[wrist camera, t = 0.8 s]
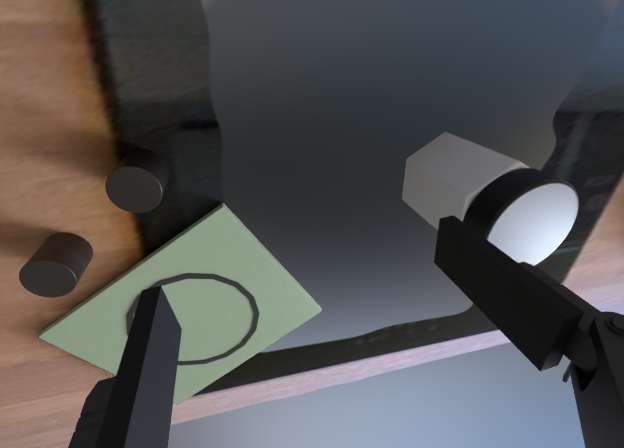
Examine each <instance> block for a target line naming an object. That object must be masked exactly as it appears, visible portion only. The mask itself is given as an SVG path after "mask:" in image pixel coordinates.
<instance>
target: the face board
mask: <svg viewBox="0 0 624 448" xmlns="http://www.w3.org/2000/svg"><path fill="white" fill-rule="evenodd" d="M157 286H161V287H162V289H163V291H164V293H165V295H166V297H167V299H168V301H169V303H170V305H171V308H172V310H173V312H174V314H175V316H176V318H177V320H178V322H179V324H180V326H181V328H182V333H181V341H180V349H179V357H178V365H177V373H176V382H175V390H174V398H173V403H174V404H176V405H179V404H180V403H182V402H183V401H185V400H186V399H188V398H189V397H191V396H192V395H194V394H195V393H197V392H199V391H200V390H202V389H203V388H205V387H206V386H208V385H209V384H211V383H212V382H214V381H215V380H217V379H218V378H220V377H222V376H223V375H225V374H226V373H228V372H229V371H231V370H232V369H234V368H235V367H237V366H238V365H240V364H241V363H243V362H245V361H246V360H248V359H249V358H251V357H252V356H254V355H255V354H257V353H258V352H260V351H261V350H263V349H264V348H266V347H267V346H269V345H271V344H272V343H274V342H275V341H277V340H278V339H280V338H281V337H283V336H284V335H286V334H287V333H289V332H290V331H292V330H293V329H295V328H297V327H298V326H300V325H301V324H303V323H304V322H306V321H307V320H309V319H310V318H312V317H313V316H315V315H316V314H318V313H319V312H321V311H322V310H321V307H320V306H319V305H318V304H317V302H316V301H315V300H314V299H313V298H312V297H311V296H310V295H309V294H308V293H307V292H306V291H305V290H304V289H303V288H302V286H301V285H300V284H299V283H298V282H297V281H296V280H295V279H294V278H293V277H292V276H291V275H290V274H289V273H288V272H287V270H286V269H285V268H284V267H283V266H282V265H281V264H280V263H279V262H278V261H277V260H276V259H275V258H274V256H273V255H272V254H271V253H270V252H269V251H268V250H267V249H266V248H265V247H264V246H263V245H262V244H261V243H260V242H259V240H257V238H256V237H255V236H254V235H253V234H252V233H251V232H250V231H249V230H248V229H247V228H246V227H245V226H244V224H242V222H241V221H240V220H239V219H238V218H237V217H236V216H235V215H234V214H233V213H232V212H231V211H230V209H229V208H228V207H227V206H226V205H225V204H224V203H222V204H221V205H219V206H218V207H216V208H215V209H214V210H212V211H211V212H209V213H208V214H207V215H205V216H204V217H202V218H201V219H199V220H198V221H197V222H195V223H194V224H192V225H191V226H190V227H188V228H187V229H185V230H184V231H182V232H181V233H180V234H178V235H177V236H175V237H174V238H173V239H171V240H170V241H168V242H167V243H165V244H164V245H163V246H161V247H160V248H158V249H157V250H156V251H154V252H153V253H151V254H150V255H148V256H147V257H146V258H144V259H143V260H141V261H140V262H139V263H137V264H136V265H134V266H133V267H132V268H130V269H129V270H127V271H126V272H124V273H123V274H122V275H120V276H119V277H117V278H116V279H115V280H113V281H112V282H110V283H109V284H107V285H106V286H105V287H103V288H102V289H100V290H99V291H98V292H96V293H95V294H93V295H92V296H90V297H89V298H88V299H86V300H85V301H83V302H82V303H81V304H79V305H78V306H76V307H75V308H74V309H72V310H71V311H69V312H68V313H66V314H65V315H64V316H62V317H61V318H59V319H58V320H57V321H55V322H54V323H52V324H51V325H49V326H48V327H47V328H45V329H44V330H42V331H41V333H40V334H39V336H38V338H40V339H42V340H44V341H46V342H48V343H50V344H52V345H54V346H57V347H59V348H61V349H63V350H65V351H67V352H69V353H71V354H73V355H75V356H77V357H79V358H81V359H83V360H85V361H88V362H90V363H92V364H94V365H96V366H98V367H100V368H102V369H104V370H106V371H108V372H110V373H112V374H114V375H117V371H118V368H119V365H120V361H121V358H122V355H123V351H124V348H125V345H126V341H127V338H128V335H129V331H130V328H131V325H132V321H133V318H134V315H135V312H136V308H137V305H138V302H139V298H140V295H141V292H142V290H145V289H149V288H153V287H157Z"/></svg>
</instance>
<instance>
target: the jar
mask: <svg viewBox="0 0 624 448" xmlns="http://www.w3.org/2000/svg"><path fill="white" fill-rule="evenodd" d="M402 200H403V201H404V202H405V203H406V204H408V205H409V206H410V207H411V208H412V209H413V210H414V211H416V212H417V213H418V214H419V215H420V216H421V217H423V218H424V219H425V220H426V221H427V222H428V223H430V224H431V225H432V226H433V227H434V228H435V229H437V230H438V227H439V220H440V218H444V217H448V216H452V215H454V216H455V217H457V218H458V219H460V220H461V221H462V222H464V223H465V224H466V225H468V226H469V227H470V228H472V229H473V230H474V231H476V232H477V233H478V234H480V235H481V236H482V237H484V238H485V239H487V240H488V241H489V242H491V243H492V244H493V245H495V246H496V247H497V248H499V249H500V250H501V251H503V252H504V253H505V254H507V255H508V256H509V257H511V258H512V259H514V260H515V261H516V262H518V263H521V262H526V263H528V264H531V265H533V266H534V265H536V264H537V263H539V262H541V261H542V260H543V259H545V258H546V257H547V256H548V255H550V254H551V253H552V252H553V251H554V250H555V249H556V248H557V247H558V246H559V245H560V244H561V242H562V241H563V240H564V239H565V237H566V236H567V234H568V233H569V231H570V229H571V228H572V226H573V224H574V221H575V219H576V216H577V212H578V206H579V200H578V195H577V192H576V190H575V189H574V187H573V186H572V185H571V184H569V183H568V182H566V181H564V180H561V179H559V178H556V177H554V176H551V175H549V174H546V173H544V172H541V171H539V170H536V169H532V168H530V167H528V166H527V165H525V164H523V163H522V162H521V161H518V160H516V159H513V158H511V157H508V156H506V155H503V154H501V153H498V152H496V151H493V150H491V149H488V148H486V147H483V146H480V145H478V144H475V143H473V142H470V141H468V140H465V139H463V138H460V137H458V136H455V135H452V134H450V133H448V132H444V133H442V134H441V135H440V136H438V137H437V138H435V139H434V140H432V141H431V142H429V143H428V144H426V145H425V146H424V147H422V148H421V149H419V150H418V151H416V152H415V153H414V154H412V155H411V156H409V157H408V158H407V159H406V166H405V174H404V183H403V191H402Z"/></svg>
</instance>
